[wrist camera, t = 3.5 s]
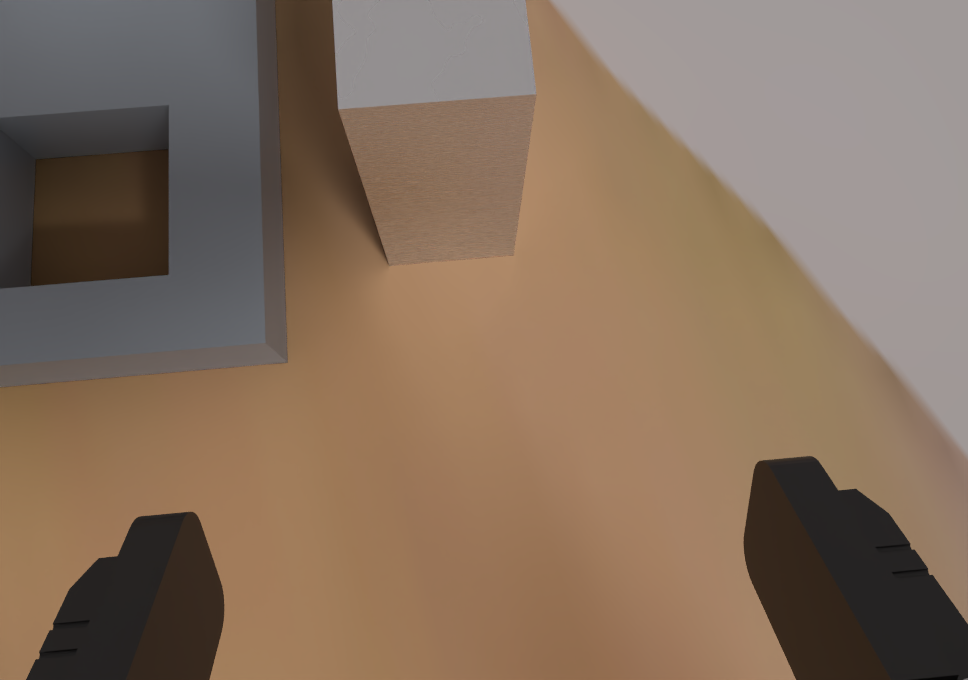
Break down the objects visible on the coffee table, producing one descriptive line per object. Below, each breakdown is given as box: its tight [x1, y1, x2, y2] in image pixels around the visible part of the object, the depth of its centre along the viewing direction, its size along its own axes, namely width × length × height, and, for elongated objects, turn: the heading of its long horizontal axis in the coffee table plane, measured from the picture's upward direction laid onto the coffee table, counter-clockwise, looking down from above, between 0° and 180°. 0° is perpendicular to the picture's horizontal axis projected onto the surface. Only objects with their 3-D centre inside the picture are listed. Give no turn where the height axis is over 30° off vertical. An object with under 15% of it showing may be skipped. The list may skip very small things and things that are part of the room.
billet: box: [332, 0, 536, 266], centre depth 24 cm, size 4×4×11 cm
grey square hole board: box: [0, 0, 288, 387], centre depth 29 cm, size 22×12×3 cm, turn 5°
